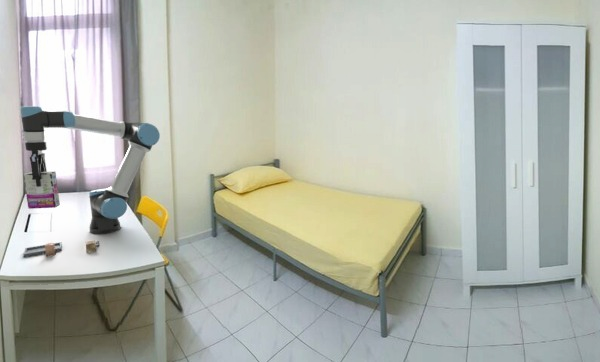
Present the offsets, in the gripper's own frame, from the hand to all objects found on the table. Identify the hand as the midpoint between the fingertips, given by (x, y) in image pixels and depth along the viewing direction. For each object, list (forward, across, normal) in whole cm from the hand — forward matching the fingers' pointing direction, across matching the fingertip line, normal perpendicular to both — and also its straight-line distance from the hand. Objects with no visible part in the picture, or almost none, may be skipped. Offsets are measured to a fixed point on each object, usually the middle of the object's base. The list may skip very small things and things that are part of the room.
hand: (42, 191), depth 156 cm
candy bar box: (+8, 0, 0) cm, 8 cm away
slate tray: (+29, -1, -2) cm, 29 cm away
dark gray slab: (+29, 0, +18) cm, 35 cm away
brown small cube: (+29, +6, +2) cm, 30 cm away
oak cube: (+29, +6, +18) cm, 35 cm away
